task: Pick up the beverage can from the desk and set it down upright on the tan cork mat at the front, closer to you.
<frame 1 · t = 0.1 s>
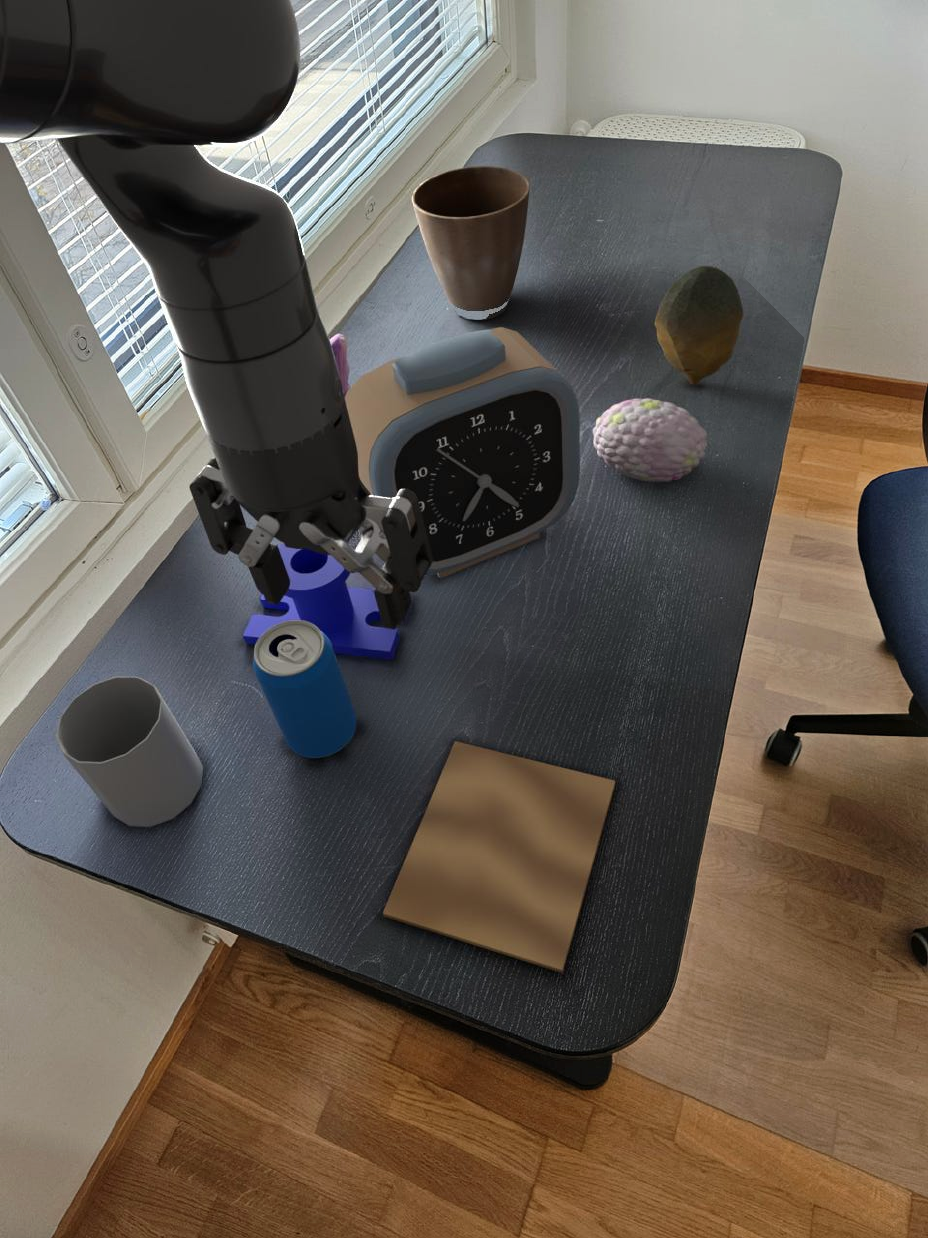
hand: (336, 606, 59), 22 cm above the table, tool pointing down, fingers open, 8 cm apart
figurine: (344, 453, 106), on the table
decorative item: (646, 467, 98), on the table
flower pot: (481, 307, 124), on the table
beverage can: (323, 732, 79), on the table
alarm clock: (474, 537, 94), on the table
cork mat: (504, 848, 70), on the table
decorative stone: (691, 386, 107), on the table
cup: (156, 784, 78), on the table
mount: (330, 623, 88), on the table
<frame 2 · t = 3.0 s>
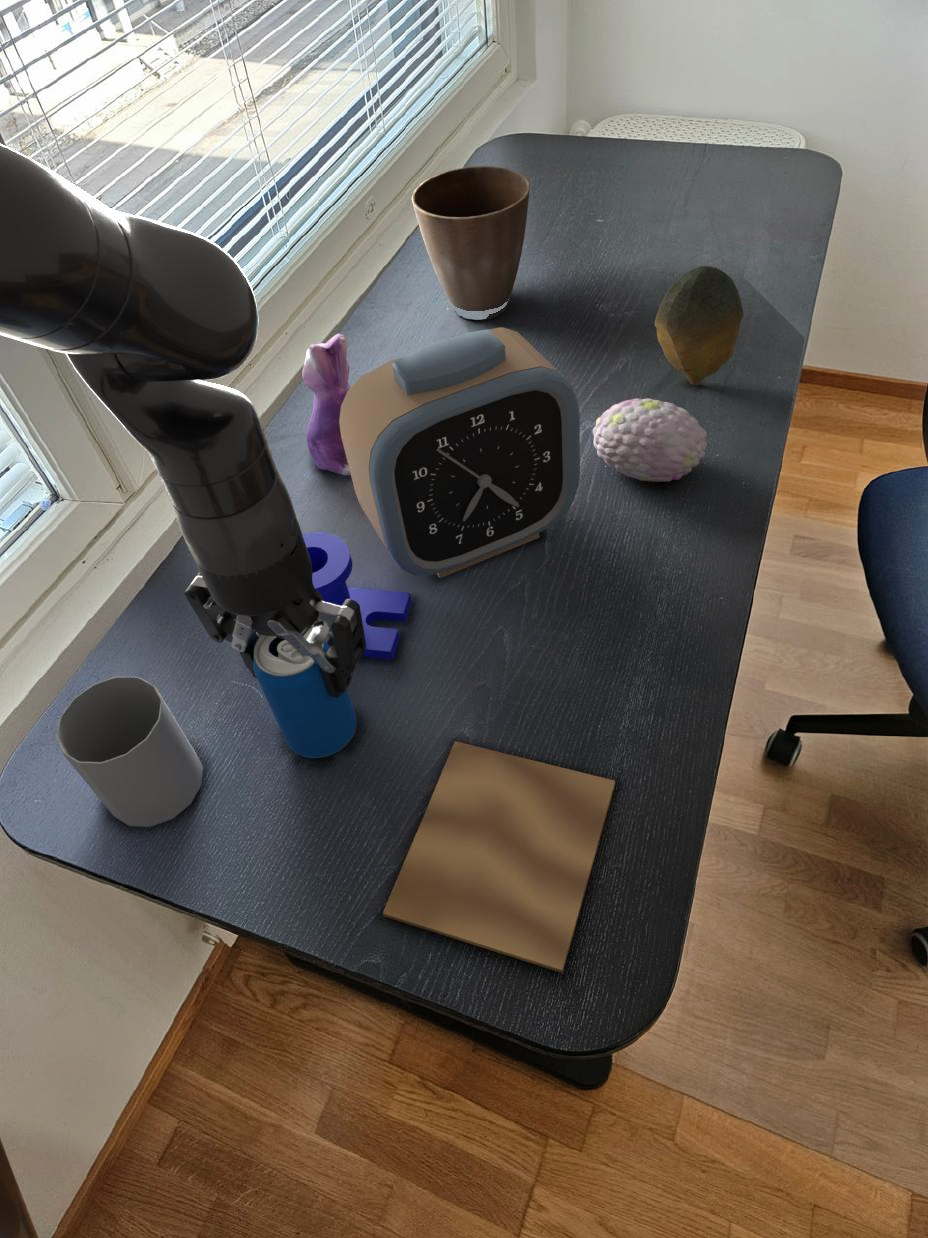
hand: (301, 679, 73), 8 cm above the table, tool pointing down, fingers closed on beverage can, 6 cm apart
beverage can: (323, 732, 79), on the table, touching gripper
everything else where it was.
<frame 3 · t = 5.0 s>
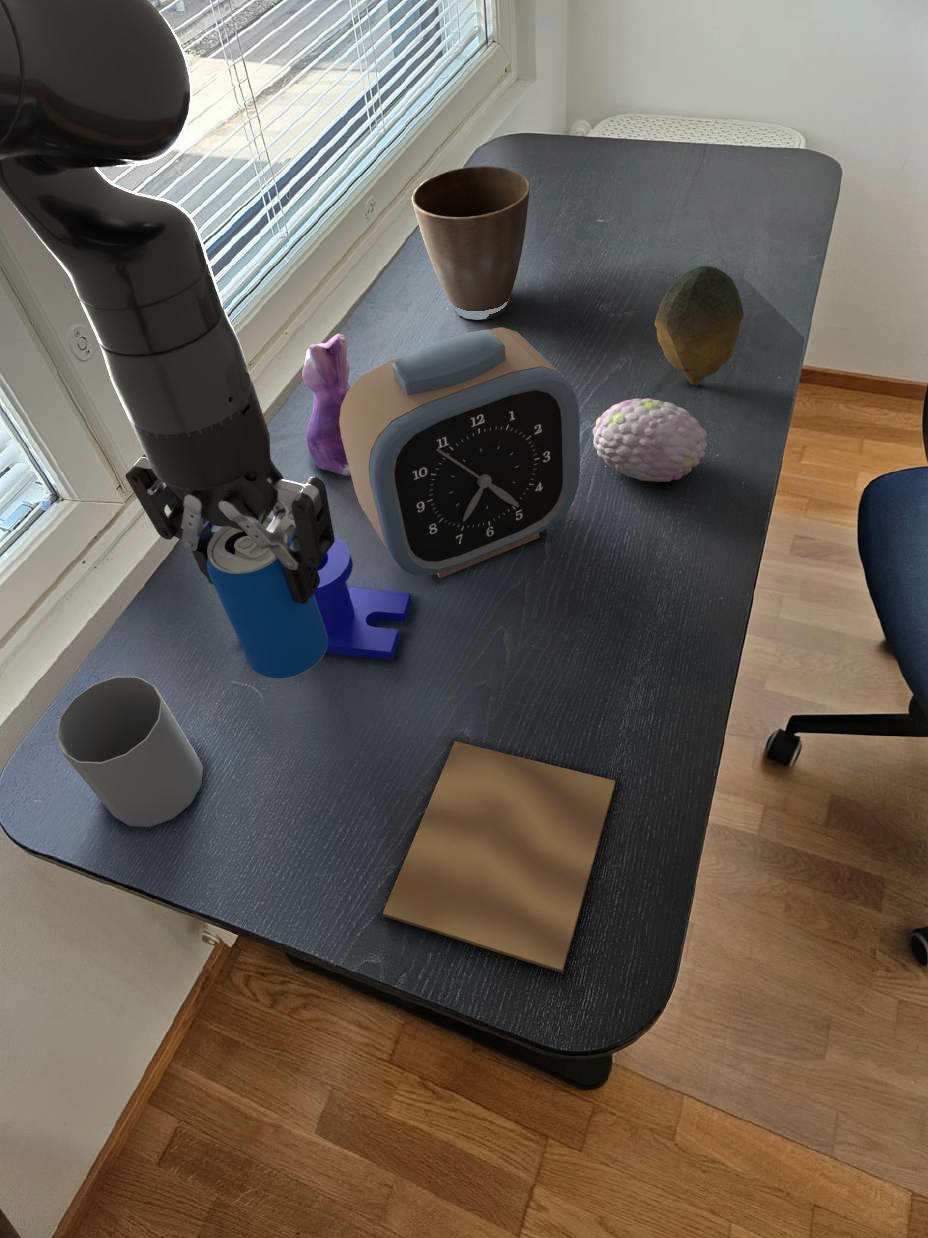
hand: (263, 585, 65), 19 cm above the table, tool pointing down, fingers closed on beverage can, 6 cm apart
beverage can: (290, 654, 71), point 11 cm above the table, touching gripper
everything else where it was.
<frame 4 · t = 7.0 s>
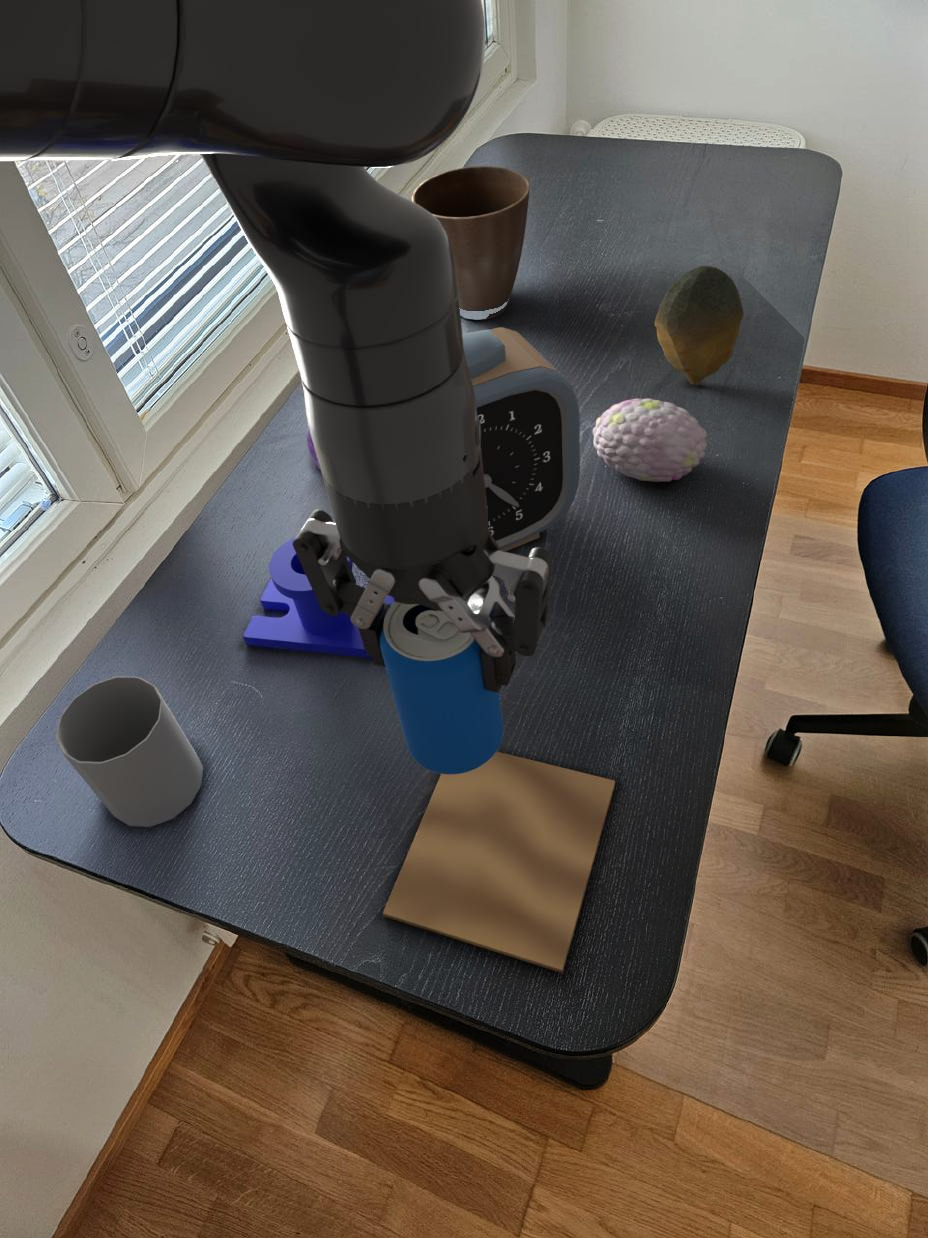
hand: (441, 667, 53), 23 cm above the table, tool pointing down, fingers closed on beverage can, 6 cm apart
beverage can: (455, 740, 59), point 15 cm above the table, touching gripper
everything else where it was.
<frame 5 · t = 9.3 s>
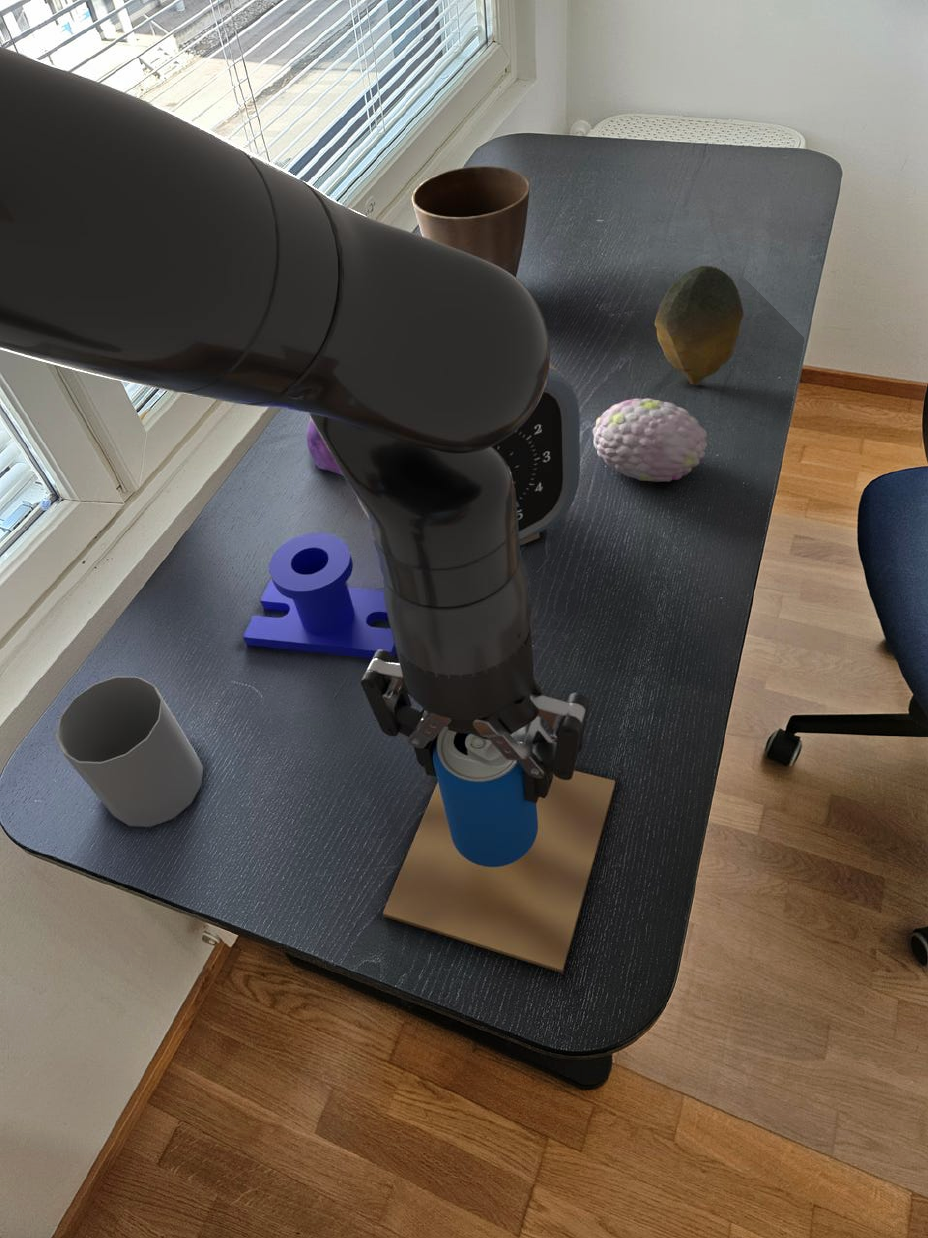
hand: (486, 777, 60), 12 cm above the table, tool pointing down, fingers closed on beverage can, 6 cm apart
beverage can: (495, 832, 66), point 4 cm above the table, touching gripper
everything else where it was.
when the fingers open (8 cm above the table, at t = 11.0 s): beverage can stays where it is, resting on cork mat.
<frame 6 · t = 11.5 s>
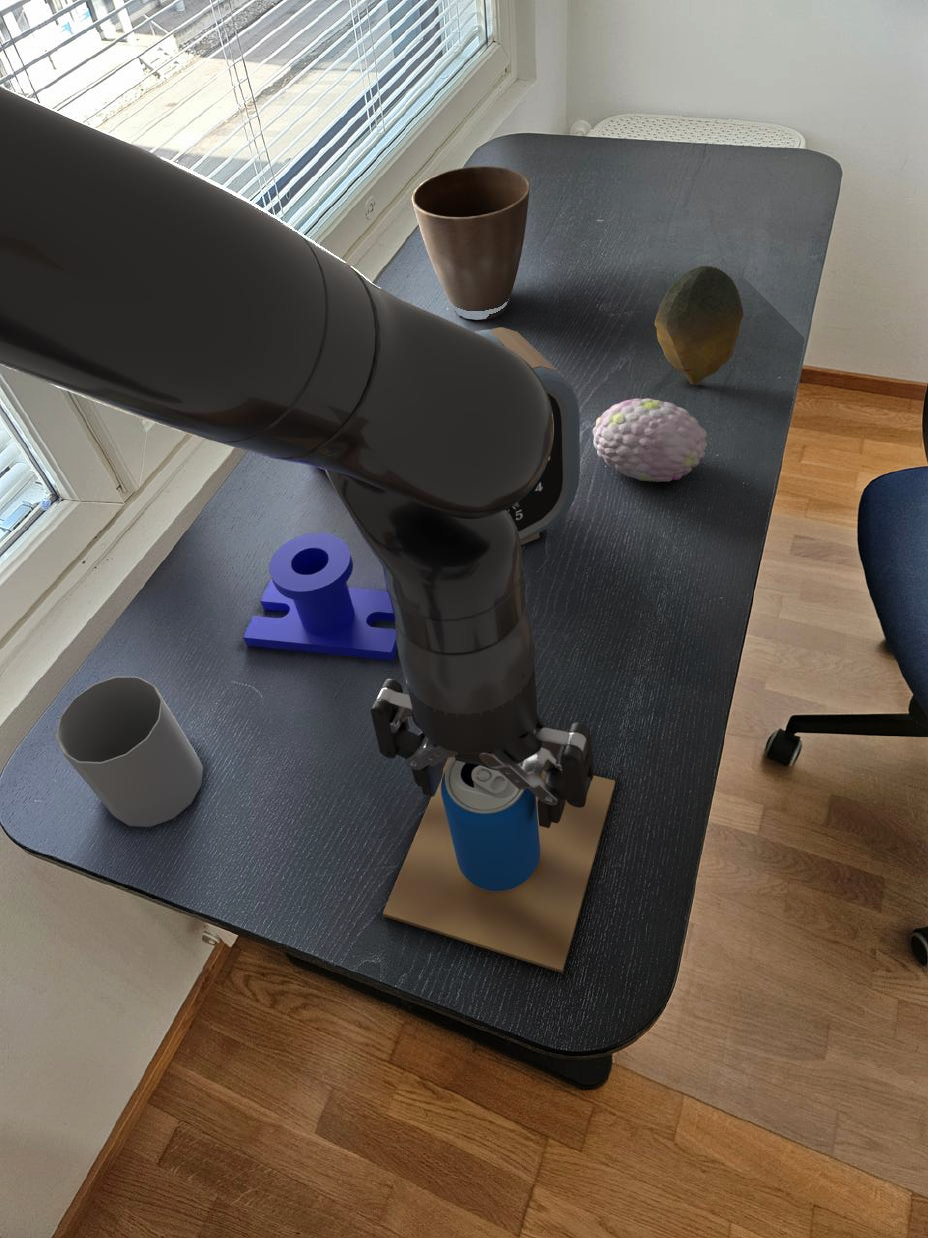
hand: (490, 800, 63), 9 cm above the table, tool pointing down, fingers open, 8 cm apart
beverage can: (499, 857, 69), resting on cork mat
everything else where it was.
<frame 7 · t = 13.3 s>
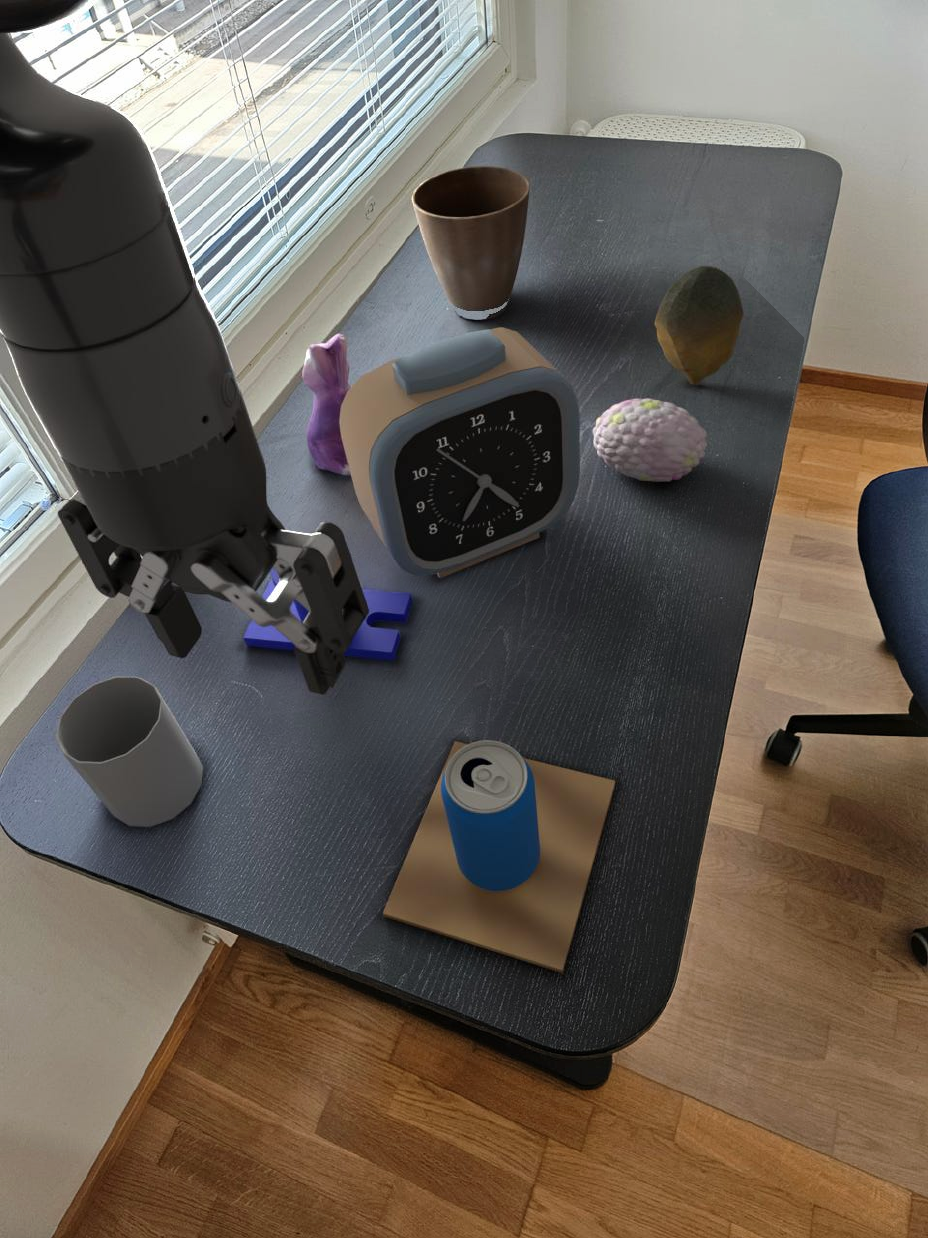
hand: (255, 662, 47), 29 cm above the table, tool pointing down, fingers open, 8 cm apart
nothing on the table moved.
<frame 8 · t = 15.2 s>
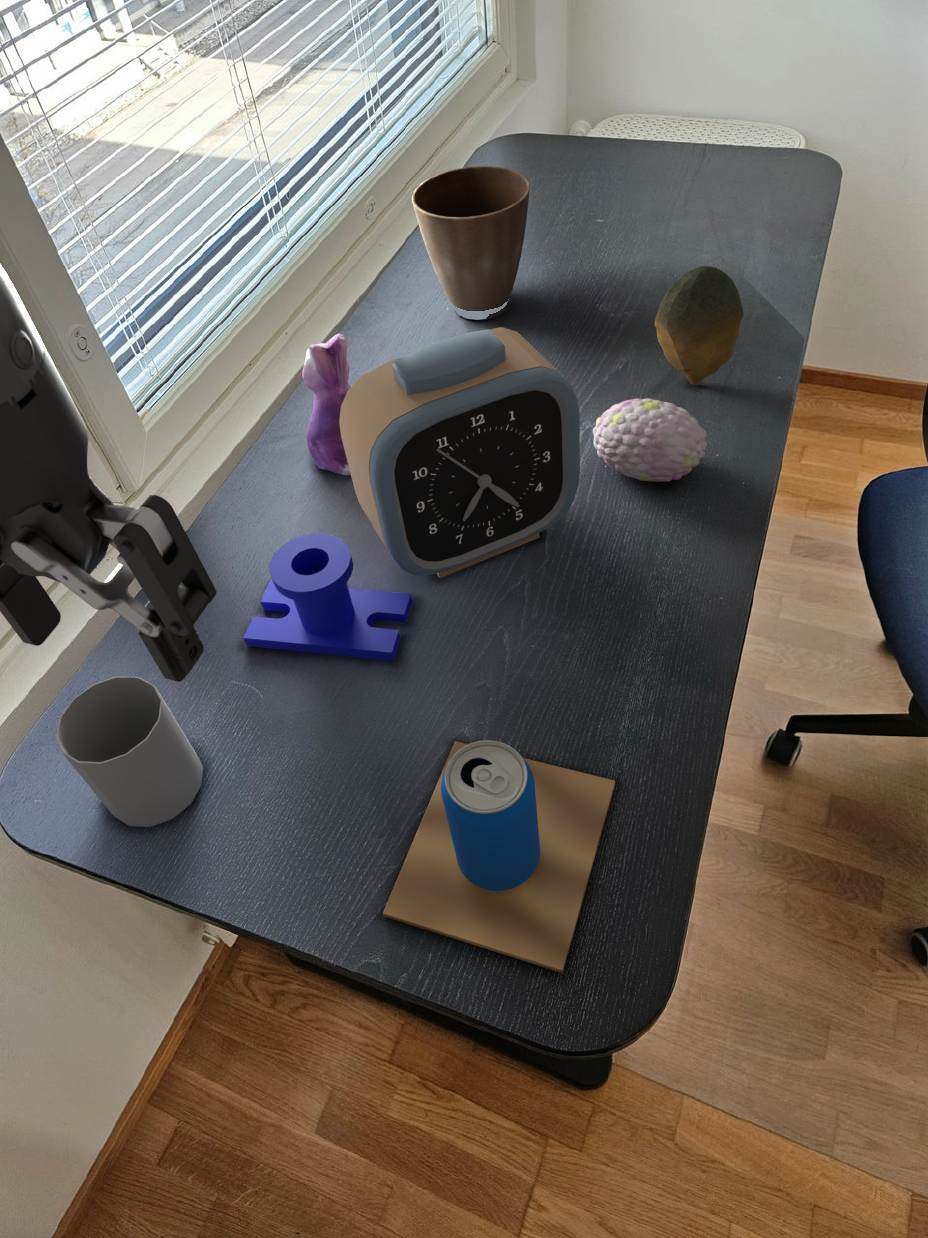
hand: (113, 649, 45), 32 cm above the table, tool pointing down, fingers open, 8 cm apart
nothing on the table moved.
at the end: beverage can inside the target area on the cork mat (1.0 cm from its centre), point 0.4 cm above the cork mat's base; beverage can tilted 0° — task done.
